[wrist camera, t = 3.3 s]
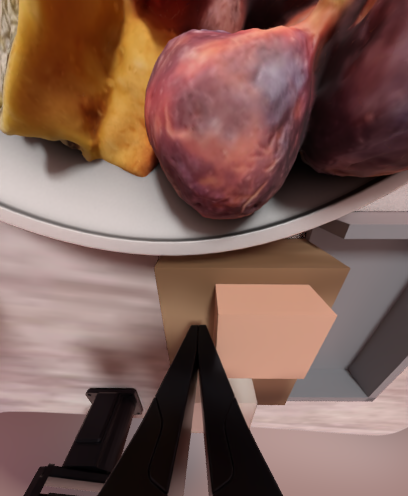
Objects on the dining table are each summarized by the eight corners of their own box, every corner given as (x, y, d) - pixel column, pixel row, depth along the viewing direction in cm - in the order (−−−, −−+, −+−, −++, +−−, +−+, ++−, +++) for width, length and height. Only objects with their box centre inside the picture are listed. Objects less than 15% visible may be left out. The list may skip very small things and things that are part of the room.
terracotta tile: (286, 343, 11) (303, 379, 9) (213, 343, 11) (214, 378, 9) (308, 284, 8) (337, 315, 7) (215, 284, 8) (218, 314, 7)
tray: (348, 368, 19) (372, 401, 16) (265, 368, 19) (275, 400, 16) (460, 211, 11) (548, 224, 8) (313, 211, 11) (350, 224, 8)
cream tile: (242, 399, 14) (248, 433, 12) (187, 399, 14) (184, 432, 12) (249, 368, 12) (257, 403, 10) (183, 367, 12) (179, 402, 10)
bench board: (268, 358, 18) (284, 405, 14) (182, 358, 18) (176, 404, 14) (304, 238, 12) (350, 268, 8) (169, 238, 12) (154, 268, 8)
